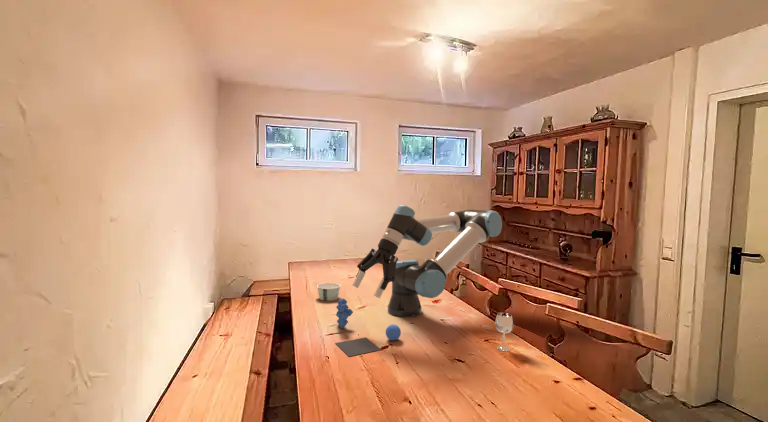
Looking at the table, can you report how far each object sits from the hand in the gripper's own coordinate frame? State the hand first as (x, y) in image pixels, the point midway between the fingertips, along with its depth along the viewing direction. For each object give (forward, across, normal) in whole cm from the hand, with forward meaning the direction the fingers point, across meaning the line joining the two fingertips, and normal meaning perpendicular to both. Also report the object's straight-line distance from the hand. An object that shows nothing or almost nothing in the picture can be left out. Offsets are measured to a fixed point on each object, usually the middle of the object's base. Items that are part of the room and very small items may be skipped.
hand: (365, 291), depth 142 cm
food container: (+10, -47, +22) cm, 53 cm away
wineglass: (-4, +42, +32) cm, 53 cm away
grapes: (+16, -8, +6) cm, 19 cm away
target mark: (+18, +10, -1) cm, 21 cm away
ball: (+8, +13, +10) cm, 18 cm away
